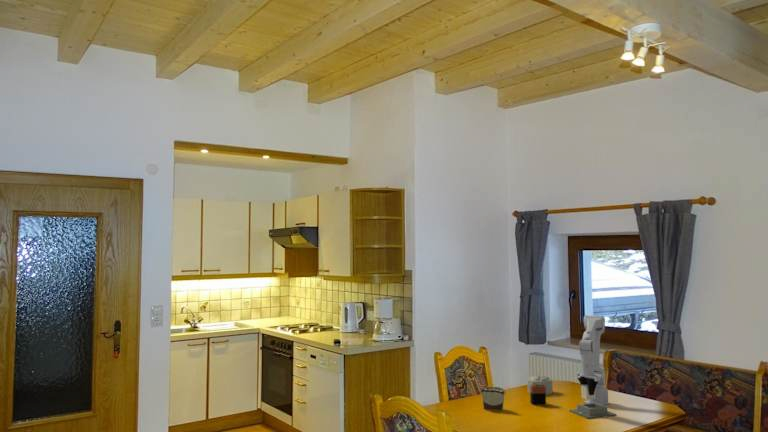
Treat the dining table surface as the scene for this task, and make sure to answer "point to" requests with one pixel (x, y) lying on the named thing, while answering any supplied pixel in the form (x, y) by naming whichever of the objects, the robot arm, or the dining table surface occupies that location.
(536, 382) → the lumpy-topped squat cylinder
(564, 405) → the dining table surface
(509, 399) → the dining table surface
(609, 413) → the socket dock
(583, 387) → the plug
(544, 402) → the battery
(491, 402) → the food container
